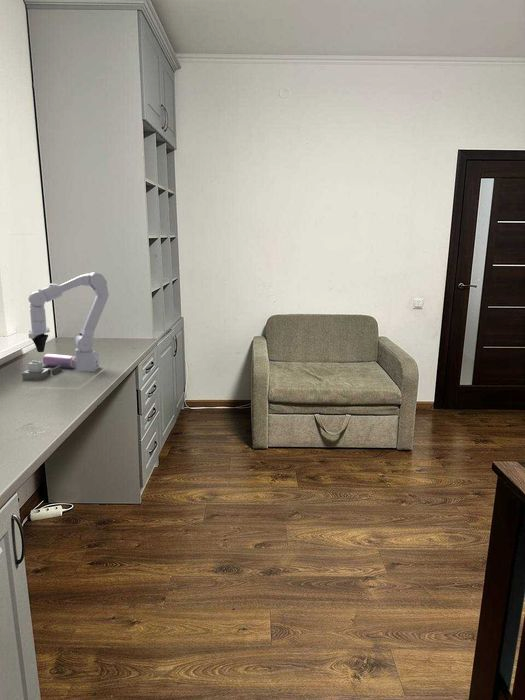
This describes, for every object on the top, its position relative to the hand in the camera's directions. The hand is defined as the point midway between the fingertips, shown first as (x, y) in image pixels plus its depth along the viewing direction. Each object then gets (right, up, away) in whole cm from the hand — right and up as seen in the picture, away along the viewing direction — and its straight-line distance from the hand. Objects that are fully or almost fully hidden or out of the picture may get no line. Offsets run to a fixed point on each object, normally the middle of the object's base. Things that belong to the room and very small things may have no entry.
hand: (40, 351), depth 206 cm
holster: (+3, -10, +3) cm, 10 cm away
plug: (0, -10, -5) cm, 11 cm away
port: (+1, -11, -5) cm, 12 cm away
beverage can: (-4, -4, +14) cm, 15 cm away
